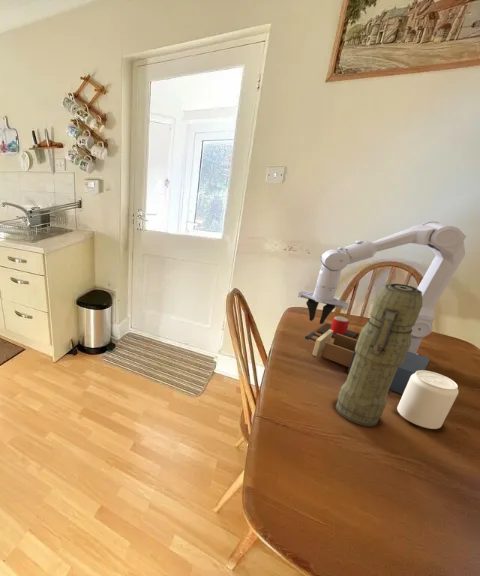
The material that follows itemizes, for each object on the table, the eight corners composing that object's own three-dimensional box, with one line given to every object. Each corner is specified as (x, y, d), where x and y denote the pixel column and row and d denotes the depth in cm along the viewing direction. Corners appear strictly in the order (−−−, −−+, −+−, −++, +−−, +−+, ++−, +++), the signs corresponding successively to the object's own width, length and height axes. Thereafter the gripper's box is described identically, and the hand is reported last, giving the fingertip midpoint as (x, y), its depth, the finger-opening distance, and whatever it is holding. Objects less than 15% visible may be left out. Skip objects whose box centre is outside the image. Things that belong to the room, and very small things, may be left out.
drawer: (298, 349, 107) (302, 334, 105) (311, 338, 114) (315, 324, 112) (361, 374, 94) (367, 358, 92) (373, 361, 100) (379, 345, 98)
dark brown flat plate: (327, 324, 126) (327, 323, 126) (357, 334, 118) (358, 333, 118) (317, 331, 120) (317, 330, 120) (348, 342, 113) (348, 341, 113)
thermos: (380, 409, 82) (432, 285, 69) (375, 435, 74) (432, 300, 61) (339, 393, 87) (379, 276, 75) (330, 416, 80) (374, 289, 67)
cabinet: (347, 372, 97) (354, 351, 94) (360, 358, 104) (367, 338, 101) (411, 398, 86) (421, 375, 83) (420, 380, 93) (430, 358, 90)
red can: (332, 327, 122) (336, 314, 120) (347, 332, 119) (351, 319, 117) (327, 331, 120) (331, 318, 118) (342, 336, 116) (347, 322, 114)
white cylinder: (450, 433, 74) (471, 392, 70) (410, 428, 76) (429, 388, 72) (424, 409, 82) (442, 371, 77) (388, 405, 83) (404, 367, 79)
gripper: (298, 282, 109) (289, 317, 113) (348, 294, 98) (336, 332, 103) (306, 278, 112) (298, 312, 117) (355, 289, 102) (344, 326, 107)
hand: (316, 321), depth 110 cm, fingers closed
